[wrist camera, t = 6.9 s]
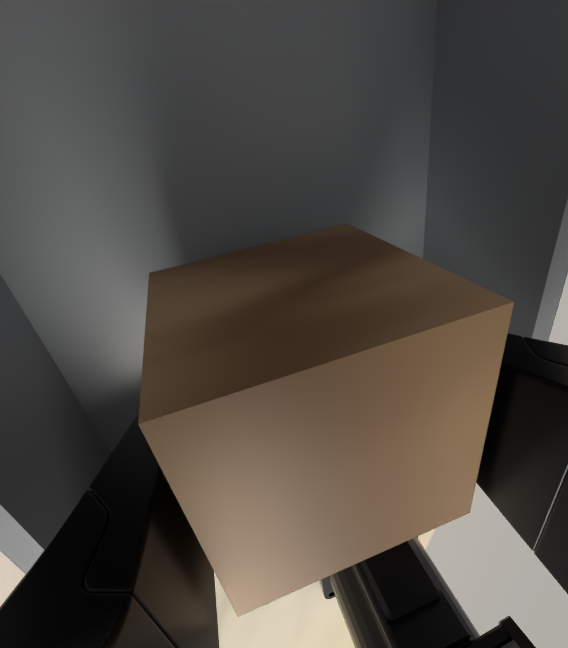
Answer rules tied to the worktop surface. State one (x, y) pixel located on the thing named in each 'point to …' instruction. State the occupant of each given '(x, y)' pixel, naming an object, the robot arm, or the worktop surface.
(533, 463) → the robot arm
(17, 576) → the worktop surface
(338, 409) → the walnut cube
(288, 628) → the worktop surface
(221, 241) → the tote
